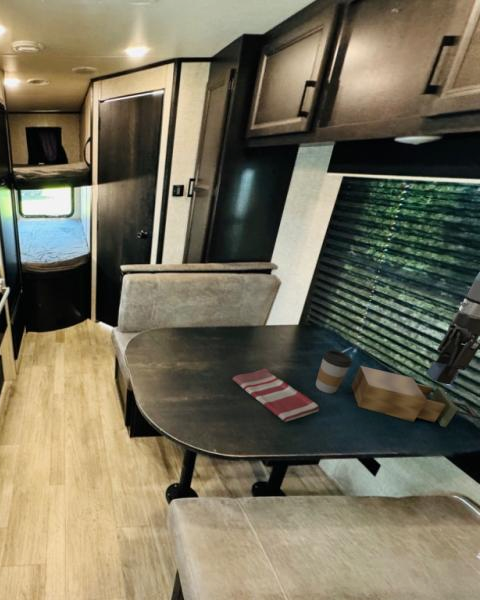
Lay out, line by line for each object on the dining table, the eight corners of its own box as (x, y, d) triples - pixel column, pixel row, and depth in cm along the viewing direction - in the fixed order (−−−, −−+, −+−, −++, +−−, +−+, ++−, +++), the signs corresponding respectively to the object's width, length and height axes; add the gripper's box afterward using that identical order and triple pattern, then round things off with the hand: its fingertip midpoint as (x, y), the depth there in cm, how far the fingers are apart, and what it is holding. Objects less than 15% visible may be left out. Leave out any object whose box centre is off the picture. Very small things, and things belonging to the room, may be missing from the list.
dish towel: (263, 371, 129) (265, 366, 128) (319, 411, 109) (322, 405, 108) (231, 380, 124) (232, 375, 123) (283, 424, 104) (285, 418, 103)
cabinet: (401, 398, 114) (412, 377, 110) (413, 421, 104) (426, 399, 100) (351, 386, 121) (360, 365, 117) (358, 406, 111) (368, 385, 107)
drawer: (457, 411, 107) (469, 394, 104) (475, 435, 98) (488, 416, 95) (381, 392, 116) (390, 375, 113) (391, 412, 107) (400, 394, 104)
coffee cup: (314, 378, 125) (327, 346, 119) (340, 388, 120) (355, 355, 113) (309, 388, 120) (322, 355, 114) (336, 399, 114) (351, 365, 108)
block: (445, 376, 104) (452, 365, 102) (451, 384, 100) (458, 373, 98) (426, 372, 106) (432, 361, 104) (432, 380, 102) (438, 368, 100)
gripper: (446, 301, 102) (414, 360, 112) (473, 324, 88) (434, 390, 98) (479, 306, 99) (443, 367, 108) (513, 331, 85) (468, 398, 94)
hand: (439, 377), depth 103 cm, fingers closed on block, 5 cm apart
